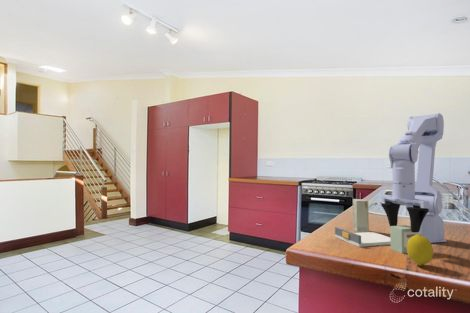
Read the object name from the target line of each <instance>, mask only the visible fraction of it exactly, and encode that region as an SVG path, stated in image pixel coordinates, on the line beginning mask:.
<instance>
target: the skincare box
mask: <svg viewBox="0 0 470 313" xmlns="http://www.w3.org/2000/svg"><path fill="white" fill-rule="evenodd" d="M352 216H353V217H352V221H353V222H352V227H353V231H355V233H362V232H370V231H369V230H370V228H369V227H370V226H369V222H370V221H369V201H368V200H366V199H362V198H361V199H359V198H353V199H352Z"/></svg>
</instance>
